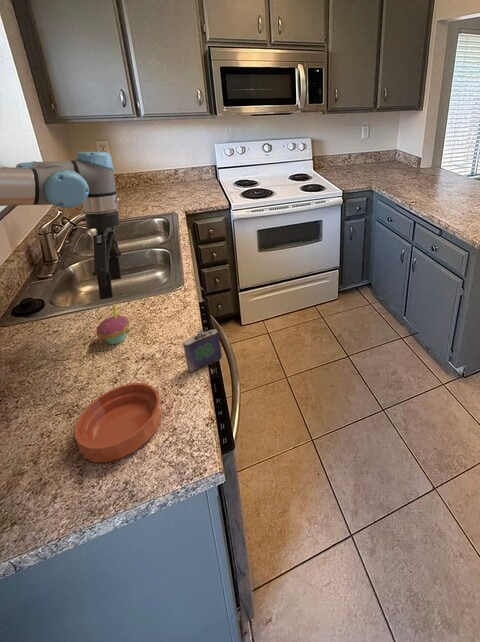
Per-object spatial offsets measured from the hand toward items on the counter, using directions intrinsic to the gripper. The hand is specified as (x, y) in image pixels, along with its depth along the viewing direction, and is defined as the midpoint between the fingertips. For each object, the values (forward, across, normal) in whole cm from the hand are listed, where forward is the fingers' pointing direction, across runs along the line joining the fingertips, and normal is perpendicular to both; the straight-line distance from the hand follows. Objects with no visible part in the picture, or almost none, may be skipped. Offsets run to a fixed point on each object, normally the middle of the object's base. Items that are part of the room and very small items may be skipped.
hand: (111, 288), depth 97 cm
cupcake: (+19, +8, +2) cm, 21 cm away
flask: (+21, -13, -22) cm, 33 cm away
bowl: (+23, -26, -4) cm, 35 cm away
